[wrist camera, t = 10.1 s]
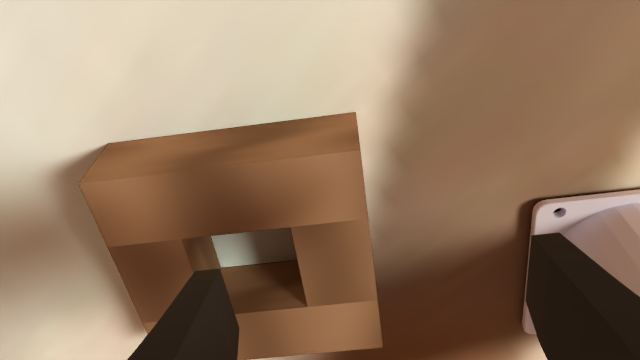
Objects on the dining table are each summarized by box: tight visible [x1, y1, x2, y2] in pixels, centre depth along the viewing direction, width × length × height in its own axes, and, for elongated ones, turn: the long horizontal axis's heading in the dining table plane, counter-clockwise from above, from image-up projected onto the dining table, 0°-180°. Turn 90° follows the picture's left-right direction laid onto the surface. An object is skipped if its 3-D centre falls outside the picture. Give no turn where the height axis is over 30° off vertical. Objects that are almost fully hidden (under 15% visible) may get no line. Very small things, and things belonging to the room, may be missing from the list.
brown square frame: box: [79, 112, 383, 360], centre depth 22 cm, size 10×10×3 cm
